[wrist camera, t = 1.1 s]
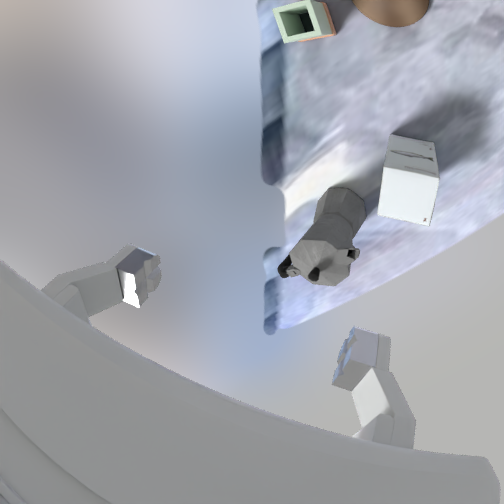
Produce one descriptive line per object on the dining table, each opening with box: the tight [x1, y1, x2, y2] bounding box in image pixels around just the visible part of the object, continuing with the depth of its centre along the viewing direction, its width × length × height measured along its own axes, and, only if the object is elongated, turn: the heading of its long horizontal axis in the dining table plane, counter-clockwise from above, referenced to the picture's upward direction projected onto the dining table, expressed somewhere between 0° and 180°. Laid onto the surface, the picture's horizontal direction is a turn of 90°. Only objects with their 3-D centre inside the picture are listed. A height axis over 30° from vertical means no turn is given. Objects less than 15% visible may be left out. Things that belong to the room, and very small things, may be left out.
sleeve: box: [272, 0, 337, 43], centre depth 30 cm, size 5×5×8 cm
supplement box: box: [377, 134, 440, 226], centre depth 37 cm, size 7×7×13 cm
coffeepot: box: [278, 188, 366, 286], centre depth 48 cm, size 15×9×18 cm, turn 132°
